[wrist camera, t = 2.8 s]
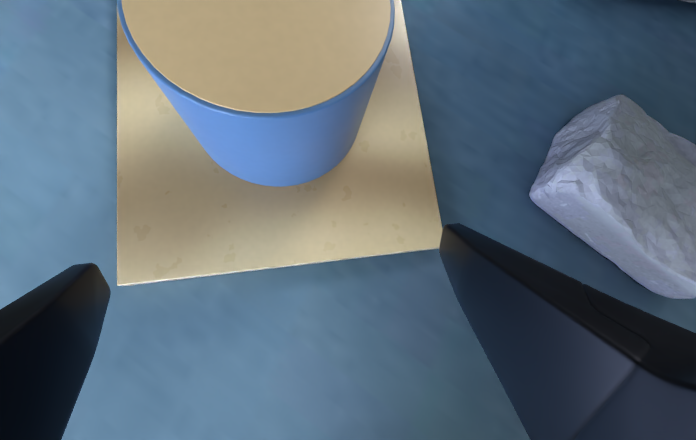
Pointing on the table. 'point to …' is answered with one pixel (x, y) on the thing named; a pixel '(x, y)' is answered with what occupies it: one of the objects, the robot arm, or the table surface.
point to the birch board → (268, 187)
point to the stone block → (626, 193)
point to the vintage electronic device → (691, 0)
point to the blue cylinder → (265, 76)
